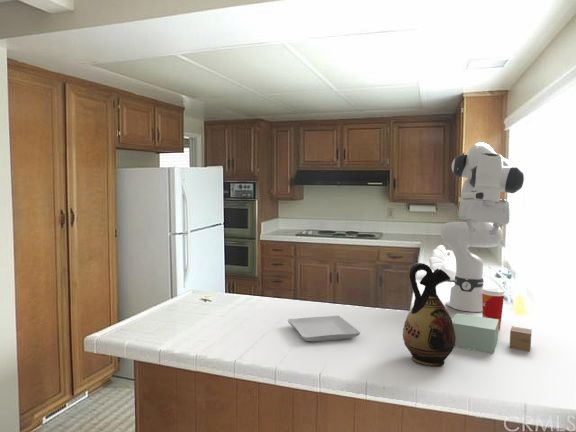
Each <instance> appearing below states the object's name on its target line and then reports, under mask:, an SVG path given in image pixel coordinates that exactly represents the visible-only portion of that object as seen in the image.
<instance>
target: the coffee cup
mask: <svg viewBox="0 0 576 432" xmlns="http://www.w3.org/2000/svg"><path fill="white" fill-rule="evenodd" d="M481 293H482V309H483V311H482V317H485V318H492V319H499V325H498V330H499V331H500V330H501V324H502V316H503V306H504V299H505V297H504V296H506V293H505V291H504V290H503V289H500V288H499V289H498V288H493V287H483V291H482V292H481Z"/></svg>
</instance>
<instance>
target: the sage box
mask: <svg viewBox="0 0 576 432" xmlns="http://www.w3.org/2000/svg"><path fill="white" fill-rule="evenodd" d="M451 319H452V322H453V325H454V330H455V335H456V341H455V346H454V347H456V346H458V347H457V348H462V347H464V348H463V349H467V348H470V349H469V350H473V349H475V350H474V351H478V350H479V352H483V353H484V352H485V353H489V354H495V350H496V347H497V344H498V342H497V341H499V331H498V325H499V319H492V318H485V317H483V316H479V315H477V316H476V315H470V314H464V313H458V312H456V314H454V316H453V318H451Z"/></svg>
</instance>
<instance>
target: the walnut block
mask: <svg viewBox="0 0 576 432" xmlns="http://www.w3.org/2000/svg"><path fill="white" fill-rule="evenodd" d="M532 331H533V329H531V328H527V327H520V326H519V327H518V326H514V325H513V326H511V328H510V333H509V349H513V348H514V350H518V349H519V351H526V352H531V348H532V347H531V346H532Z"/></svg>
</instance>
